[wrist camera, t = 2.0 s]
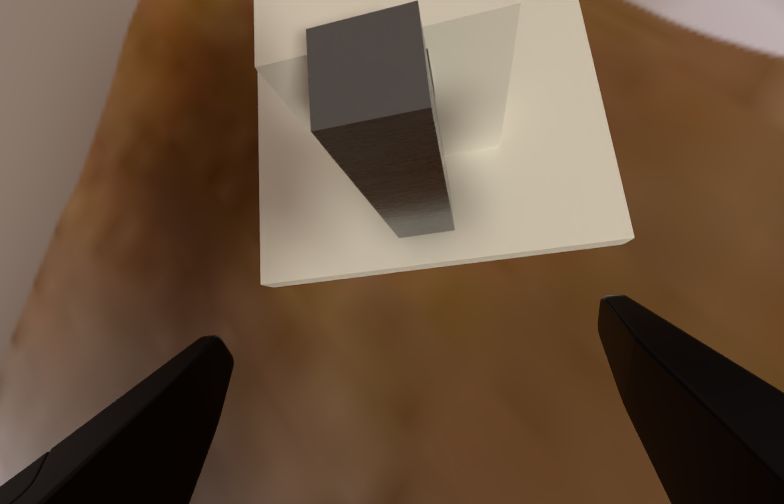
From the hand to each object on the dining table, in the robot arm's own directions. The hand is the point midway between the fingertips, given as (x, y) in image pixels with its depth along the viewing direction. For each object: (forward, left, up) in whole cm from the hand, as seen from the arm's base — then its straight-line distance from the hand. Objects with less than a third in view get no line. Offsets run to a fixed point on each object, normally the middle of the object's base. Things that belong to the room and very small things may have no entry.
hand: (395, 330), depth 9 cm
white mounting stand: (+7, -8, -13) cm, 17 cm away
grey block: (+7, -8, -11) cm, 15 cm away
